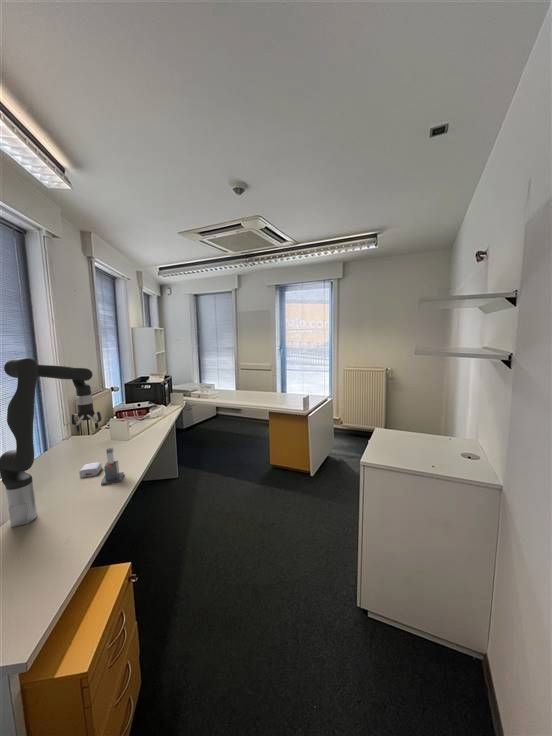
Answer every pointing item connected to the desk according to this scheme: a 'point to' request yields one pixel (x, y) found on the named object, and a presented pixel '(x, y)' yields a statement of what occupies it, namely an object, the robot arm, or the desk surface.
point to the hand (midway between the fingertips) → (88, 429)
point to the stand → (112, 474)
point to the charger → (90, 469)
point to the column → (110, 456)
